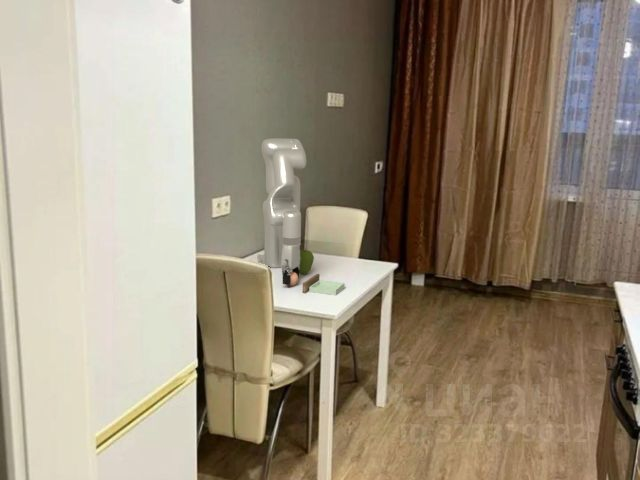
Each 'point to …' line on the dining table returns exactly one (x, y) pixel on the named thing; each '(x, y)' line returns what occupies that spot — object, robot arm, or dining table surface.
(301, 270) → the apple
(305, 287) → the board
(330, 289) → the tray
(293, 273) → the ball
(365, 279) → the dining table surface
